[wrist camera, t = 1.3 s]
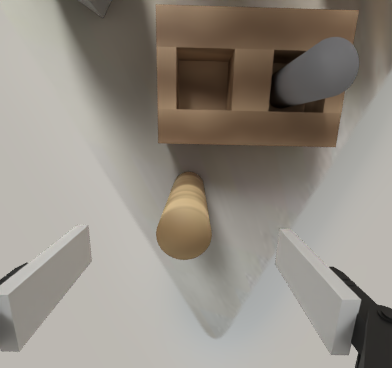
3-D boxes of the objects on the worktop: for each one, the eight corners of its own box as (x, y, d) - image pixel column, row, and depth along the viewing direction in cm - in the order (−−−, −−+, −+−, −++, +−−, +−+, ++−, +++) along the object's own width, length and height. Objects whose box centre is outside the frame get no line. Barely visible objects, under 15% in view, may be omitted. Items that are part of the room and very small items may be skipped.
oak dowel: (173, 171, 29) (155, 208, 15) (204, 172, 29) (212, 209, 15) (173, 200, 30) (156, 259, 16) (203, 200, 30) (210, 260, 16)
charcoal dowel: (267, 69, 24) (308, 36, 15) (302, 70, 24) (364, 37, 16) (263, 108, 25) (300, 96, 16) (298, 108, 25) (353, 97, 16)
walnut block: (164, 33, 25) (155, 4, 19) (321, 37, 25) (358, 10, 19) (165, 140, 28) (158, 143, 22) (306, 143, 28) (335, 147, 22)
